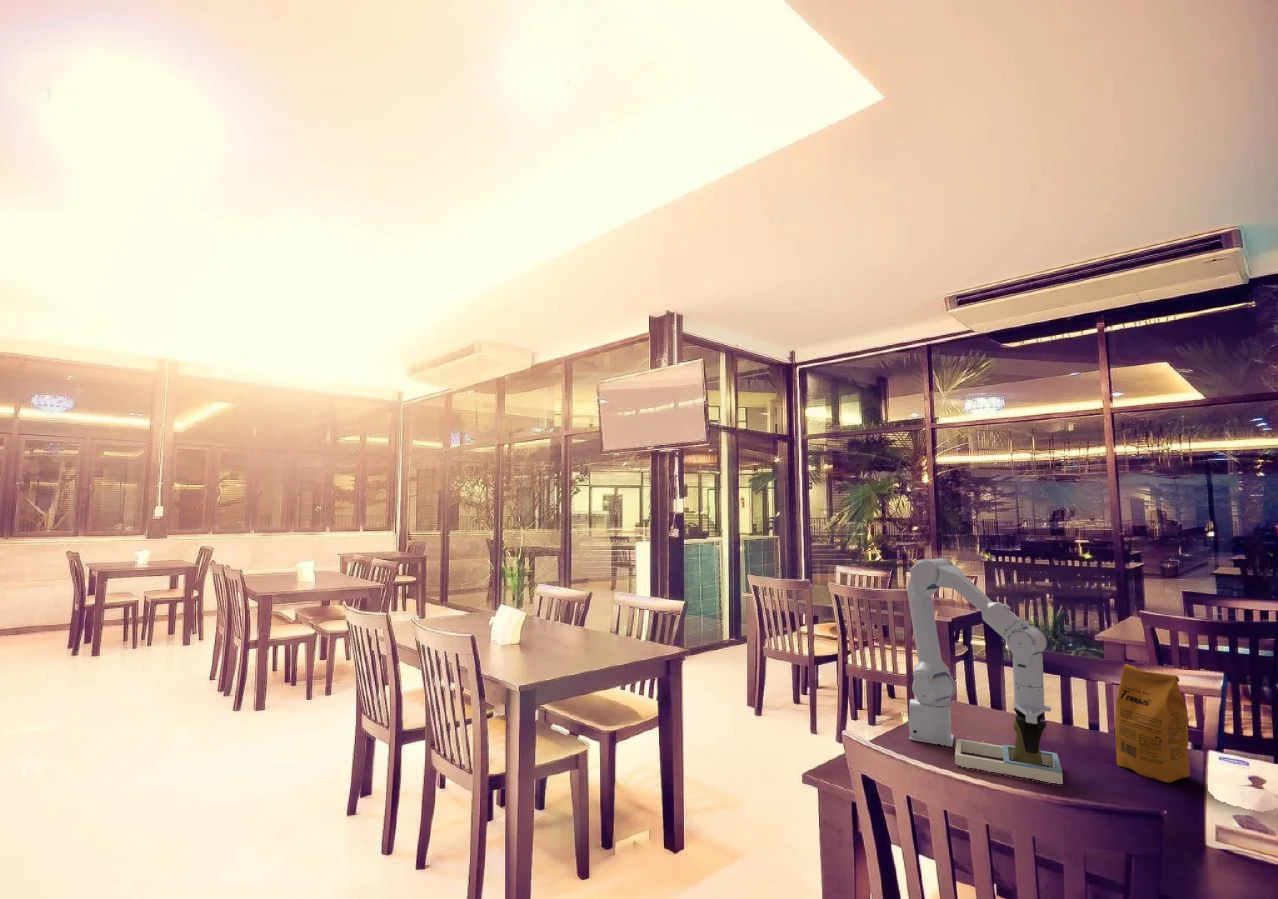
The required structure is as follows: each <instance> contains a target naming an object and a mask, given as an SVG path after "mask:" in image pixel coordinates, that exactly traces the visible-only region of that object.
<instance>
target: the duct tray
mask: <svg viewBox="0 0 1278 899" xmlns="http://www.w3.org/2000/svg"><path fill="white" fill-rule="evenodd" d="M955 742H956V743H955V750H954V751H955V752H954V765H955V764H957V765H961V766H962V767H961V768H963V767H966V768H965V769H969V768H977V769H981V770H986V771H989V772H988V773H990V772H996V773H1006V774H1010V775H1015V776H1019V777H1026V778H1034V779H1036V780H1040V781H1045V782H1049V783H1048V784H1050V783H1057V784H1063V785H1064V783H1063V782H1064V781H1063V769H1062V766H1061V762H1060V759H1059V756H1058V753H1057V752H1052V751H1051V752H1050V751H1045V750H1040V751H1041V756H1042V762H1043V765H1046V766H1038V765H1033V764H1027V763H1021V762H1015V761H1012V760H1009V758H1010V759H1013V757H1014V748H1015V745H1008V744H1004V743H1002V745H997V744H993V743H986V742H980V741H974V740H967V739H962V738H956V741H955ZM963 753H967V754H963ZM972 753H974V754H973V755H969V754H972ZM978 754H979V755H978ZM975 755H978V756H975ZM980 756H984V757H980ZM989 756H990V757H991V758H986V757H989ZM995 757H996V758H997V759H992V758H995ZM1001 758H1003V759H1002V760H998V759H1001ZM1047 766H1049V767H1047ZM996 773H995V774H996ZM1045 782H1044V783H1045Z"/></svg>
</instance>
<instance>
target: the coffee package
mask: <svg viewBox="0 0 1278 899" xmlns="http://www.w3.org/2000/svg"><path fill="white" fill-rule="evenodd" d="M1122 668H1123V669H1122V673H1121V676H1120V682H1119V688H1118V690H1117V691H1118V693H1117V698H1116V700H1115V720H1114V721H1115V724H1114V740H1115V752H1116V765H1117V766H1118V767H1121V768H1126V769H1131V770H1132V771H1133V772H1135V773H1136V774H1138V775H1140V776H1142V775H1143V777H1146V778H1148V777H1149V778H1148V779H1152V778H1154V779H1153V780H1156V779H1157V780H1156V781H1161V782H1163V783H1169V784H1170V783H1173V782H1175V781H1178V780H1180V779H1184V778H1188V777H1189V776H1191V772H1190V771H1191V770H1190V758H1189V752H1188V750H1189V749H1188V746H1189V730H1188V729H1189V727H1188V726H1189V725H1188V717H1189V716H1188V707H1187V706H1186V703H1185V700H1184V697H1183V694H1182V692H1181V689H1180V687H1179V683H1178V682H1180V678H1179V677H1178V675H1177V674H1170V673H1169V674H1168V673H1160V672H1152V671H1145V670H1143V669H1140V668H1138V667H1135V666H1133V665H1130V664H1129V663H1126V664H1124V666H1123V667H1122Z"/></svg>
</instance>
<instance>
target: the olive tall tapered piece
mask: <svg viewBox="0 0 1278 899" xmlns="http://www.w3.org/2000/svg"><path fill="white" fill-rule="evenodd" d="M1025 718H1026V717H1025ZM1012 722H1013V723H1012V727H1013V730H1014V731H1015V740H1014V746H1015V748H1014V757H1013V761H1015V762H1021V763H1027V764H1033V765H1038V766H1043V762H1042V756H1041V751H1042V750H1041V747H1040V746H1041V745H1040V744H1039V749H1038V753H1037V754H1035V753H1029V752H1026V750H1025V747H1024V742H1023V737H1022V733H1021V730H1020V728H1019V726H1018V724H1017V722H1016V719H1015V718H1014V719H1013V721H1012Z"/></svg>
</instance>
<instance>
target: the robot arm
mask: <svg viewBox="0 0 1278 899" xmlns="http://www.w3.org/2000/svg"><path fill="white" fill-rule="evenodd" d="M909 574H910V577H909V580H908V581H909V582H908V585H907V589H906V592H907V599H908V604H909V606H908V607H909V612H910V617H911V618H910V619H911V625H912V631H913V637H914V642H915V643H914V644H915V650H916V655H917V661H918V662H917V664H916V666H915V668H914V669H913V670H912V671H913V672H912V674H913V682H912V684H911V686H912V688H911V689H912V693H913V695H914V697H915V698H916V699H915V698H911V699H909V706H908V709H909V710H908V712H909V714H908V719H909V720H908V730H909V740H911V741H914V742H915V741H916V742H921V743H928V744H934V745H938V744H940V746H944V745H945V746H944V747H951V748H952V747H953V746H954V745H953V744H954V739H955V738H954V737H955V735H954V734H952V717H951V716H952V715H951V714H952V712H951V702H952V700H951V697H953V696H954V695H955V693H956V689H957V688H956V683H955V680H954V679H953V677H952V676H951V673H950V668H949V666H948V665H947V664H946V663H945V662H944V661H943V658H942V654H941V646H940V641H939V635H938V630H937V628H938V627H937V623H936V619H935V618H936V617H935V610H934V605H933V601H932V597H933V595H934V594H935V593H936V592H937V591H938V590H939V589H940V588H946V589H952V590H954V591H955V592H957V593H958V594H959V595H960V596H962V597H963V598H964V599H965V600H966V601H968V603H970V604H971V605H973V606H974V607H975V608H976V609H978V610H979V611H980V612H981V619H982V621H983V622H985V623H986V624H987V625H989V626H990V628H992V629H993V630H994V631H995V632H996V633H997V634H998V635H999V636H1000V637H1002V638H1003V639H1004V641H1006V645H1007V648H1008V649H1009V651H1010V652H1011V654H1012V673H1013V674H1012V676H1013V702H1012V706H1013V711H1014V712H1015V714H1016V715H1015V717H1014V720H1015V719H1016V722H1017V724H1018V726H1019V728H1020V730H1021V733H1022V737H1023V742H1024V747H1025V750H1026V752H1029V753H1035V754H1037V753H1038V749H1039V745H1040V744H1041V737H1042V734H1043V732H1044V730H1045V728H1046V727H1047V723H1046V721H1041V719H1042V718H1043V715H1044V712H1052V707H1051V705H1045V684H1044V664H1043V663H1044V662H1043V660H1044V659H1043V652H1044V651H1045V649H1046V648H1047V645H1048V643H1047V641H1048V640H1047V637H1046V636H1045V634H1044V632H1042V631H1041V629H1040V628H1039V627H1035V626H1031V625H1029V623H1028V622H1027V621H1026V620H1022V618H1020V617H1019V616H1017V614H1015V613H1014V612H1013V611H1012V610H1011V609H1012V608H1011V606H1009V604H1008V603H1004V604H1003V603H1002V602H1001V601H992V600H991V598H989V597H988V595H986V594H985V593H984V592H983V591H982V590H981V589H980V588H979V587H978V586H976V584H974V582H972V581H971V579H969V578H968V577H967V576H966V575H965V574H964V573H963V570H961V568H960V567H959V566H957V565H956V564H954V563H953V562H952V560H950V559H948V558H946V557H938V558H931V559H926V558H925V559H919V560H917V561H916V562H915V563H914V564H913V565H912V566H911V567H910V568H909ZM1025 717H1026V718H1025Z"/></svg>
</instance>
